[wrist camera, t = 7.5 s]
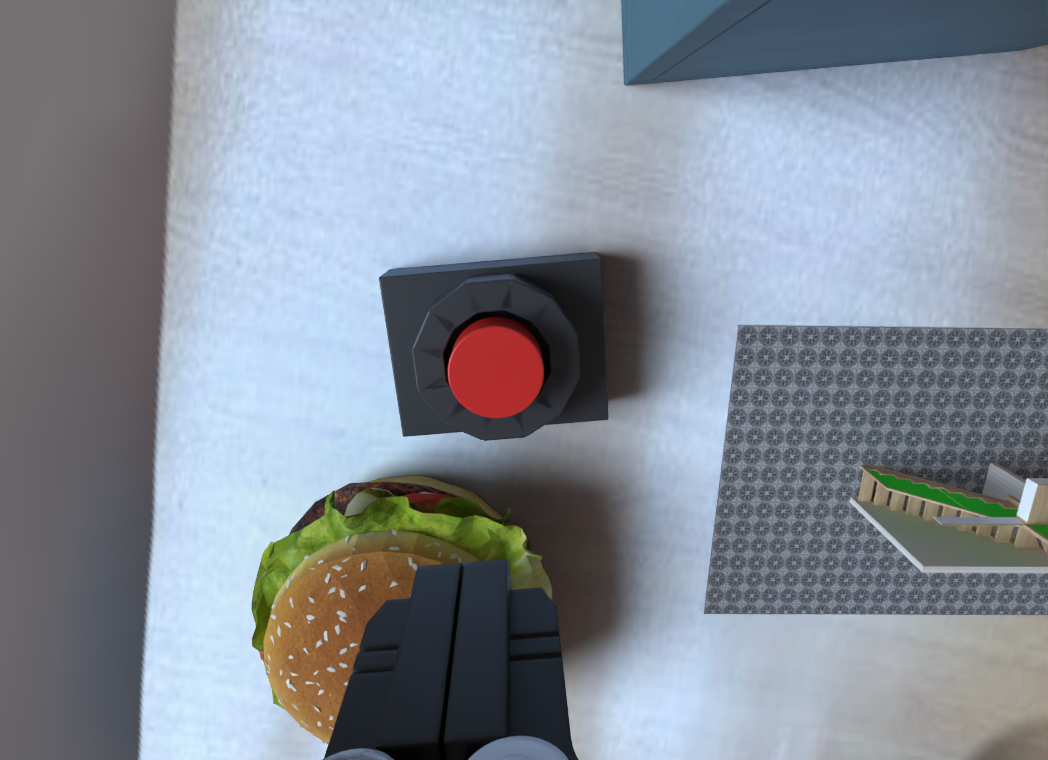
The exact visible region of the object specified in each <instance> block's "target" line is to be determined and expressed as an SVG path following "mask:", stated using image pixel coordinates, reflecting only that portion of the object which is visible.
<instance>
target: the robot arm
mask: <svg viewBox="0 0 1048 760" xmlns="http://www.w3.org/2000/svg"><path fill="white" fill-rule="evenodd" d="M352 670H353V673H352V674H351V675H350V678H349V681H348V685H347V688H346V691H345V694H344V697H343V700H342V703H341V707H340V710H339V713H338V716H337V719H336V722H335V726H334V729H333V732H332V735H331V738H330V741H329V745H328V748H327V751H326V754H325V757H324V759H323V760H578V758H577V756H576V754H575V752H574V749H573V746H572V741H571V735H570V725H569V716H568V707H567V698H566V689H565V680H564V670H563V661H562V652H561V643H560V635H559V625H558V615H557V607H556V606H555V604H554V603H553V602H552V600H551V599H550V598H549V596H548V595H547V594H546V593H545V591H544V590H543V589H542V587H540V588H527V589H515V590H512V587H511V577H510V567H509V561H508V559H498V560H485V561H473V562H465V564H464V566H463V564H462V563H451V564H438V565H426V566H418V568H417V570H416V574H415V579H414V583H413V587H412V592H411V596H410V598H406V599H394V600H386V601H385V603H384V604H383V605H382V606H381V607H380V608H379V609H378V611H377V612H376V613H375V614H374V615H373V616H372V618H371V619H370V620H369V621H368V622H367V625H366V628H365V631H364V634H363V637H362V640H361V643H360V647H359V653H357V656H356V659H355V662H354V666H353V669H352Z"/></svg>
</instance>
